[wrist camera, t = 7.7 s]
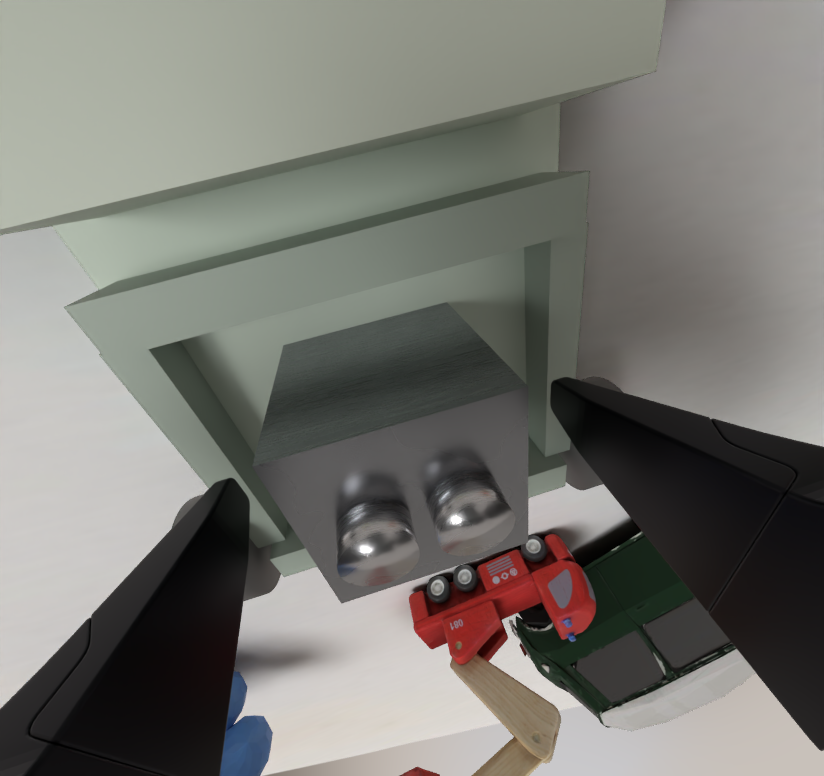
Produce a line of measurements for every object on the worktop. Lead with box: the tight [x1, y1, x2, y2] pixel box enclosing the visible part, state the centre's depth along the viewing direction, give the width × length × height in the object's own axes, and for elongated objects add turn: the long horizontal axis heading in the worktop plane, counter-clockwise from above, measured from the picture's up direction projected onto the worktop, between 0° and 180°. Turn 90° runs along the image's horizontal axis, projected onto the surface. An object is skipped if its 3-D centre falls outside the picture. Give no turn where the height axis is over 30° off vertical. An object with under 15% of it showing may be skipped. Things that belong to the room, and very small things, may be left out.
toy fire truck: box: [400, 534, 596, 776], centre depth 17 cm, size 3×14×10 cm, turn 110°
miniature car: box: [509, 532, 756, 731], centre depth 21 cm, size 9×18×8 cm, turn 128°
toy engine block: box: [252, 302, 529, 603], centre depth 9 cm, size 5×5×6 cm
